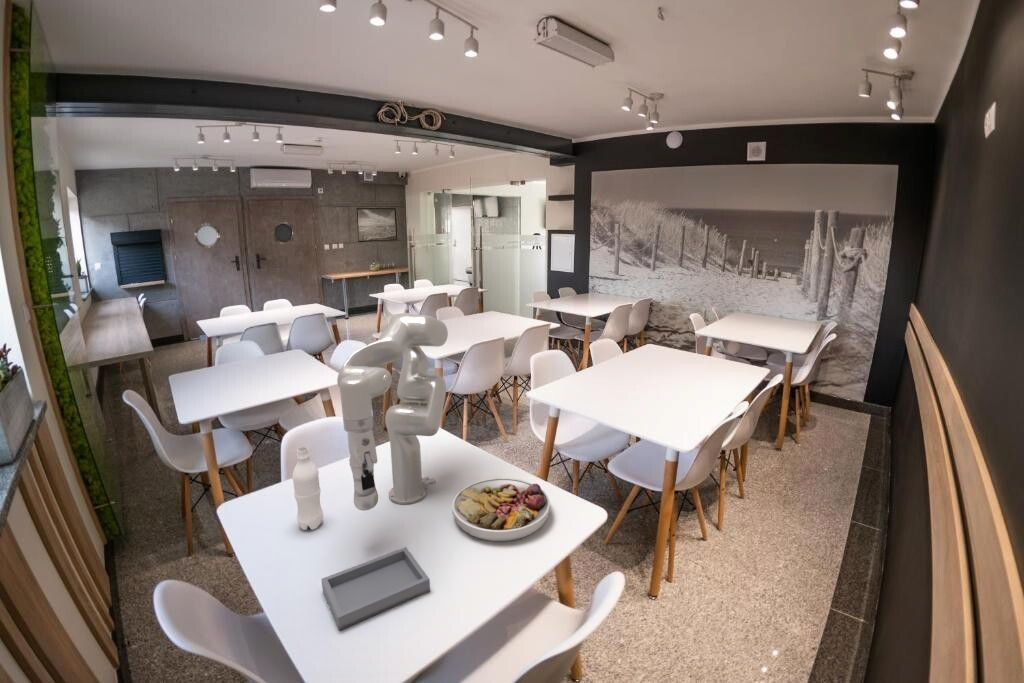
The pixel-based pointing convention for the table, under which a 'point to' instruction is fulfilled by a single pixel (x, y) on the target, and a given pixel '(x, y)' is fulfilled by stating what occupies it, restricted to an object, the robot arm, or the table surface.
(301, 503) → the water bottle
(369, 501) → the plastic bottle
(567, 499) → the table surface
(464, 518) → the bowl
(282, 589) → the table surface
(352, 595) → the tray
